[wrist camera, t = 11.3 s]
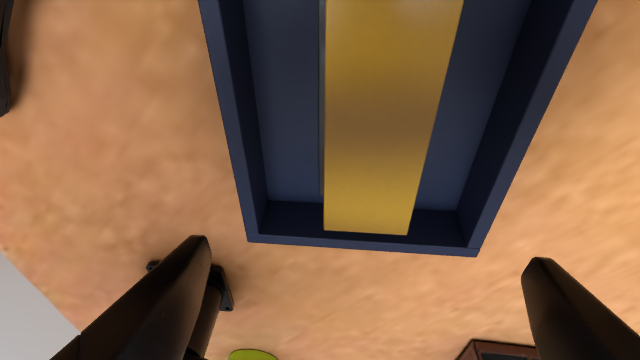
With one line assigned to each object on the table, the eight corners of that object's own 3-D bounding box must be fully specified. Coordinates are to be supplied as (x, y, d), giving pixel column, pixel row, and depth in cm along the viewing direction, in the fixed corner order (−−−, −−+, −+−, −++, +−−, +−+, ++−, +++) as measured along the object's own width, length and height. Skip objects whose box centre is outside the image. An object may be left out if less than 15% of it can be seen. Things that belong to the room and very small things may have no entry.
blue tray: (463, 214, 23) (476, 257, 20) (259, 202, 24) (247, 242, 21) (622, -202, 11) (709, -231, 8) (198, -196, 12) (151, -220, 9)
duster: (405, 177, 21) (415, 243, 17) (321, 173, 21) (313, 236, 17) (456, -71, 13) (497, -54, 9) (321, -72, 13) (307, -56, 9)
